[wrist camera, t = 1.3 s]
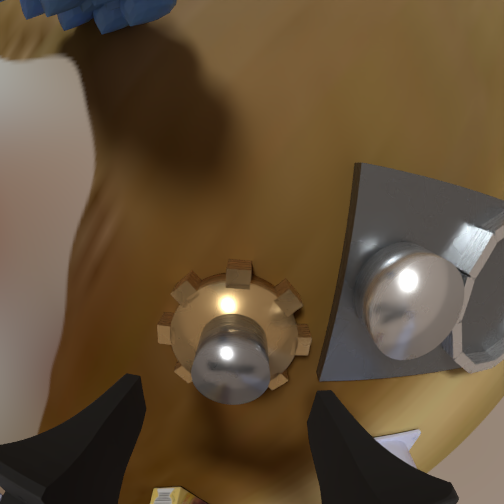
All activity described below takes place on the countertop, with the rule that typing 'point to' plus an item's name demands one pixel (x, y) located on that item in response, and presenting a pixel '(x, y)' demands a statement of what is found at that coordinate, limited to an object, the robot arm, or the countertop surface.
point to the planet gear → (234, 333)
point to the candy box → (174, 496)
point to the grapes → (99, 12)
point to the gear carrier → (416, 280)
